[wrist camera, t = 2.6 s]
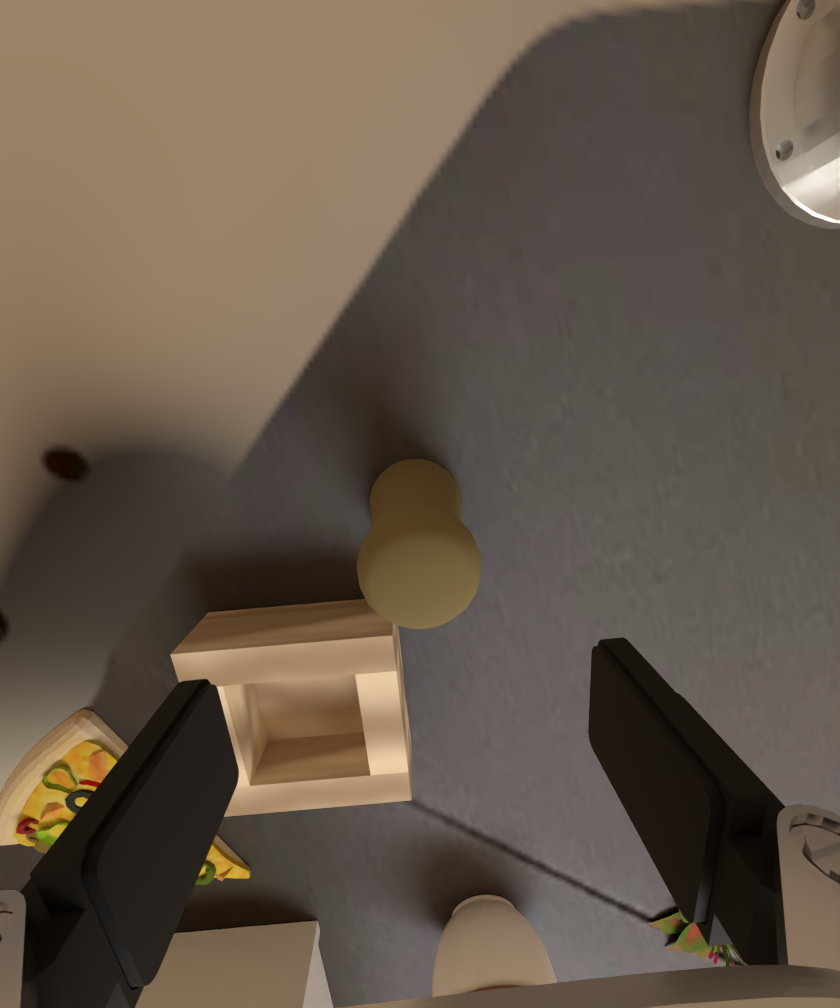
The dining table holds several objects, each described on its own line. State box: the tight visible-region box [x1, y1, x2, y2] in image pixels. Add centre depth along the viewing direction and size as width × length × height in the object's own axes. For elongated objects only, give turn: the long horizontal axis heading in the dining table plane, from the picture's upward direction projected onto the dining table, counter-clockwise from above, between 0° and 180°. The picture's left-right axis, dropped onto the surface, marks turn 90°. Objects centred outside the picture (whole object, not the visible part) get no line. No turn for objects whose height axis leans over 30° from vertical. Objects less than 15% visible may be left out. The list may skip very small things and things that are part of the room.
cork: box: [357, 458, 481, 629], centre depth 20 cm, size 6×6×11 cm
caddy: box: [170, 599, 412, 817], centre depth 27 cm, size 13×13×4 cm
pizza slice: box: [0, 706, 251, 885], centre depth 32 cm, size 16×21×3 cm
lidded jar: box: [432, 894, 557, 997], centre depth 33 cm, size 11×11×9 cm
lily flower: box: [648, 910, 748, 966], centre depth 36 cm, size 12×12×5 cm
